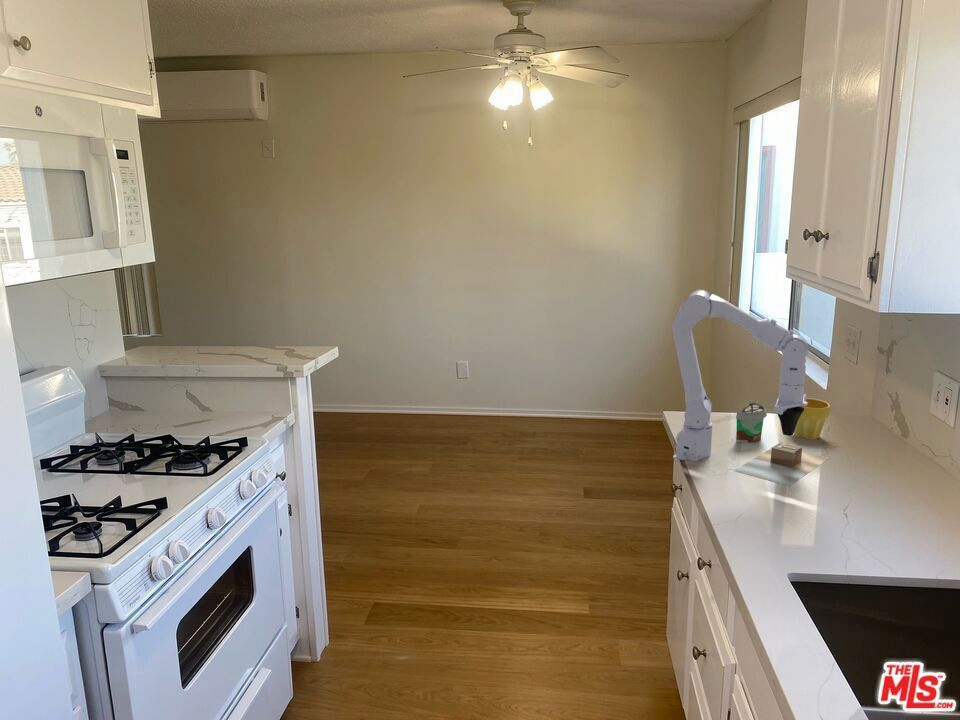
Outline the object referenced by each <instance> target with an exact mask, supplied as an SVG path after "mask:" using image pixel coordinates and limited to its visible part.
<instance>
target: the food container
mask: <svg viewBox="0 0 960 720" xmlns="http://www.w3.org/2000/svg"><path fill="white" fill-rule="evenodd" d="M767 416H768V413H767V409H766V407H765V405H763V404H761V403H759V402H756V401H752V400H751V401H749V404H748V406H745V407H744V408H743V409H742V410H741V411H736V416H735V419H736V436H735V437H736V441H735V442H737V443H745V444H746V443H747V444H748V443H749V444H750V443H757V442H759V441H761V440H762V433H763V425H764V420H765V418H767Z"/></svg>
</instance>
